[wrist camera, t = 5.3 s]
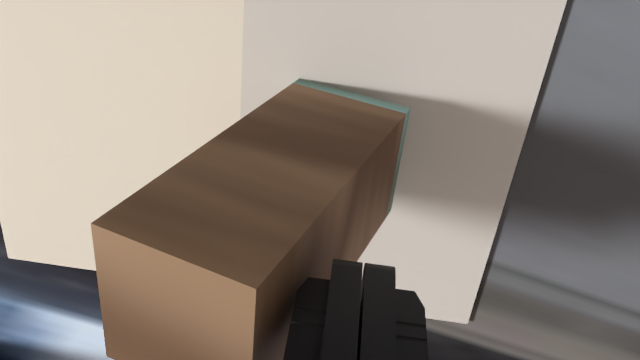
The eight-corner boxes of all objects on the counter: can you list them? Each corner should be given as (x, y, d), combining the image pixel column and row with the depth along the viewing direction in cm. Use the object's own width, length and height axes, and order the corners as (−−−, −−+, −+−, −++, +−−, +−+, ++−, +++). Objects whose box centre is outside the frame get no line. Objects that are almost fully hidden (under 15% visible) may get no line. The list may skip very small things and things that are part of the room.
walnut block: (299, 78, 21) (90, 223, 13) (410, 107, 20) (256, 289, 12) (291, 177, 23) (106, 355, 15) (391, 210, 22) (248, 423, 14)
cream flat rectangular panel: (-79, -163, 18) (-83, -162, 18) (590, -83, 18) (592, -82, 17) (10, 255, 27) (8, 258, 26) (466, 320, 26) (467, 324, 26)
